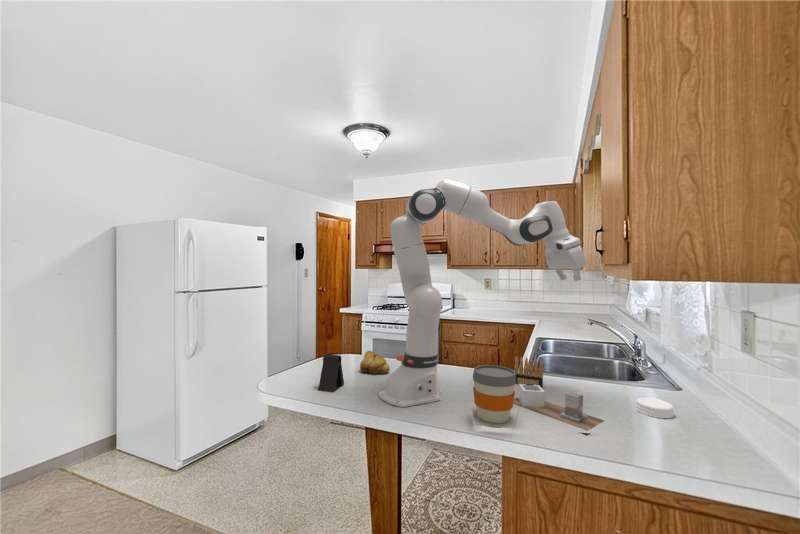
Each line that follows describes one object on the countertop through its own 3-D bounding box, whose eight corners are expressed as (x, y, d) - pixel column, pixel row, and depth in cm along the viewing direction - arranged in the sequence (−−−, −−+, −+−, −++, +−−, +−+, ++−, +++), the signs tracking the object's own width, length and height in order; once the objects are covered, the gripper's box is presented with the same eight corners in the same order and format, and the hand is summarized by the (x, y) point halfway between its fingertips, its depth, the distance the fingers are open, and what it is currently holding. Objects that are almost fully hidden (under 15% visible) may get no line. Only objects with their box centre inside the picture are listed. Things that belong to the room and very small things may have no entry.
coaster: (628, 409, 122) (629, 398, 122) (649, 405, 126) (650, 395, 126) (659, 421, 113) (659, 410, 113) (680, 417, 117) (681, 406, 117)
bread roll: (393, 371, 157) (393, 353, 157) (381, 377, 148) (382, 358, 148) (368, 367, 163) (368, 349, 163) (355, 372, 154) (355, 353, 154)
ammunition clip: (543, 390, 138) (544, 358, 138) (542, 391, 136) (543, 359, 136) (513, 385, 142) (514, 355, 142) (512, 387, 141) (513, 356, 141)
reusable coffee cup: (509, 434, 101) (511, 380, 101) (465, 423, 107) (467, 372, 107) (518, 418, 112) (520, 369, 112) (478, 409, 118) (479, 362, 118)
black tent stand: (333, 392, 130) (334, 358, 130) (318, 390, 131) (318, 357, 131) (344, 384, 138) (345, 353, 138) (329, 382, 140) (330, 351, 140)
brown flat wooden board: (587, 435, 101) (588, 405, 101) (506, 405, 122) (507, 380, 121) (604, 425, 108) (605, 396, 108) (525, 398, 128) (526, 374, 128)
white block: (544, 407, 117) (544, 390, 117) (523, 406, 118) (523, 388, 118) (538, 399, 124) (539, 383, 124) (518, 398, 124) (519, 382, 124)
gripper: (537, 248, 143) (548, 281, 143) (565, 244, 122) (578, 283, 123) (552, 243, 143) (563, 276, 144) (582, 238, 123) (595, 277, 123)
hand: (570, 279), depth 133 cm, fingers open, 8 cm apart
